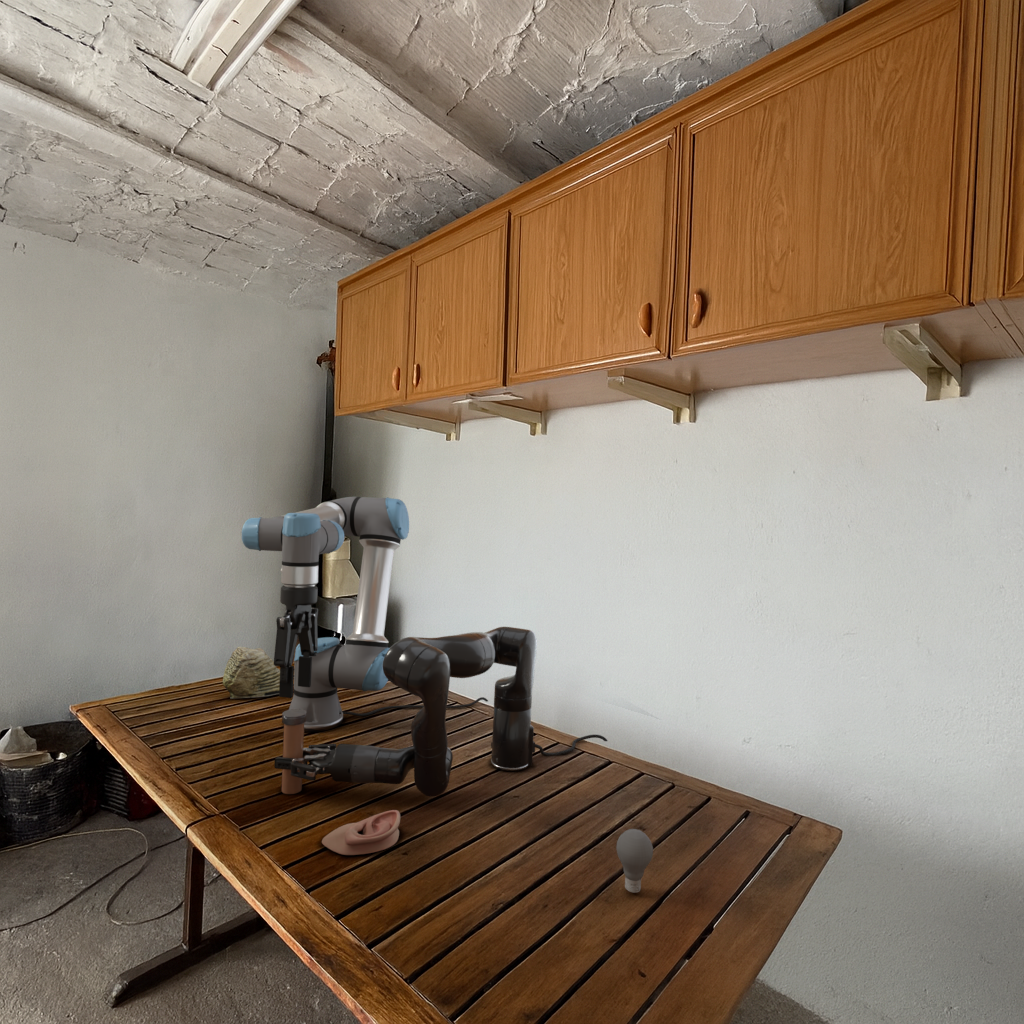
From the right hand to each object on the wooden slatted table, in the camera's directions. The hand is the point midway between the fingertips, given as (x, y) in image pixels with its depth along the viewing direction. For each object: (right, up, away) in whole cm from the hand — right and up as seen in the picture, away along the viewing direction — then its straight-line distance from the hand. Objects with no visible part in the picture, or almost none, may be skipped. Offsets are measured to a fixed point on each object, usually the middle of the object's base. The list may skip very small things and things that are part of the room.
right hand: (280, 758), depth 136 cm
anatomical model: (+22, -8, -19) cm, 30 cm away
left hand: (+3, +15, 0) cm, 15 cm away
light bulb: (+70, -10, -31) cm, 77 cm away
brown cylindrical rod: (+2, -7, 0) cm, 7 cm away
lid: (+3, +10, 0) cm, 10 cm away
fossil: (-31, -4, +62) cm, 69 cm away
